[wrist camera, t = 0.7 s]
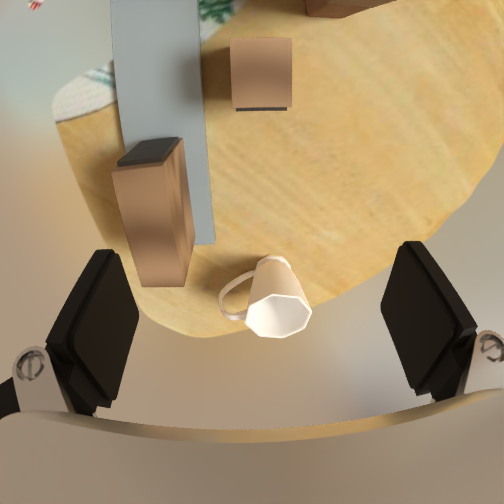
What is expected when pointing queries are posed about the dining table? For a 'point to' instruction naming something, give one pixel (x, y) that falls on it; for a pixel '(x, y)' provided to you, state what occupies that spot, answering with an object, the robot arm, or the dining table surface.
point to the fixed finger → (156, 210)
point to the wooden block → (339, 7)
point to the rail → (164, 88)
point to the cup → (271, 299)
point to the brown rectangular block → (261, 73)
